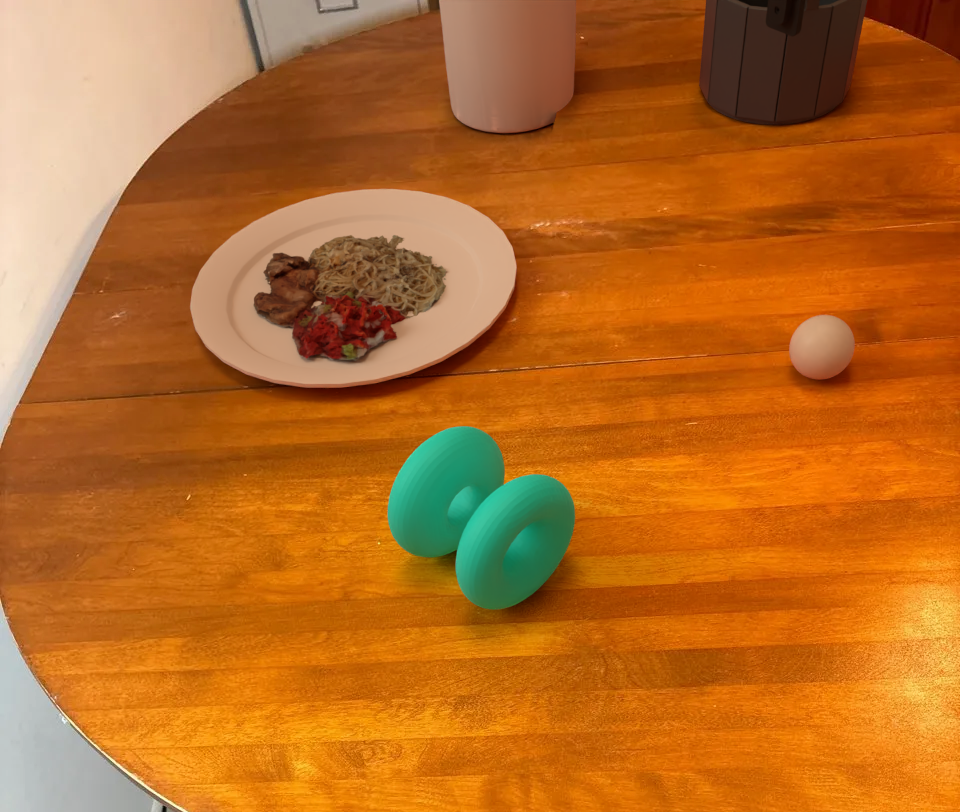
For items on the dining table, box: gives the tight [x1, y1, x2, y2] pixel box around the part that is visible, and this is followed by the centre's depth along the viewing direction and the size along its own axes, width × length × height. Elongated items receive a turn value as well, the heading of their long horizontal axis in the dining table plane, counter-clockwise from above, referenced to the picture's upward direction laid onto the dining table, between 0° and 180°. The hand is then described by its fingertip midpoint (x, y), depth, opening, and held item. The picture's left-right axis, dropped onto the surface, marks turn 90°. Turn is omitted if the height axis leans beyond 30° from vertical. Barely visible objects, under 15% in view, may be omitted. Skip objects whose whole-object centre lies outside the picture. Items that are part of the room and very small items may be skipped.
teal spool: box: [387, 425, 576, 611], centre depth 73 cm, size 10×10×10 cm
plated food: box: [189, 188, 518, 389], centre depth 97 cm, size 30×30×3 cm
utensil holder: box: [438, 0, 577, 134], centre depth 111 cm, size 15×15×18 cm
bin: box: [698, 0, 868, 126], centre depth 107 cm, size 15×15×14 cm
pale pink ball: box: [788, 314, 856, 381], centre depth 85 cm, size 5×5×5 cm
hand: (824, 10), depth 86 cm, fingers open, 9 cm apart
